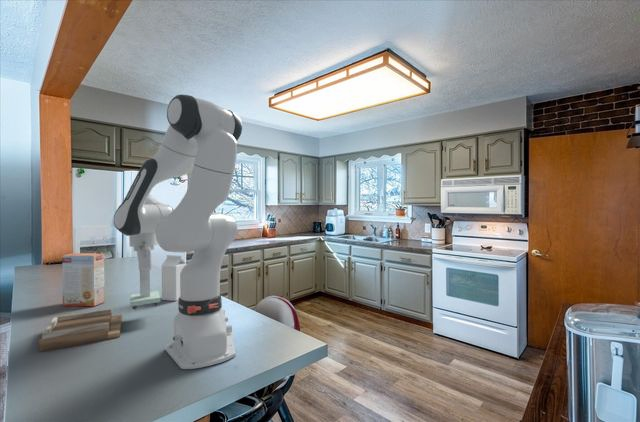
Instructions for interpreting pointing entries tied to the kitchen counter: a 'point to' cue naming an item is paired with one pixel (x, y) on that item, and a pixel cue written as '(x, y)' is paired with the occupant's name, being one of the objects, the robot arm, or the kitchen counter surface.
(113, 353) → the kitchen counter surface
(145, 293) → the mint green slab
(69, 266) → the cracker box
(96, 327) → the tray
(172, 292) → the milk carton
